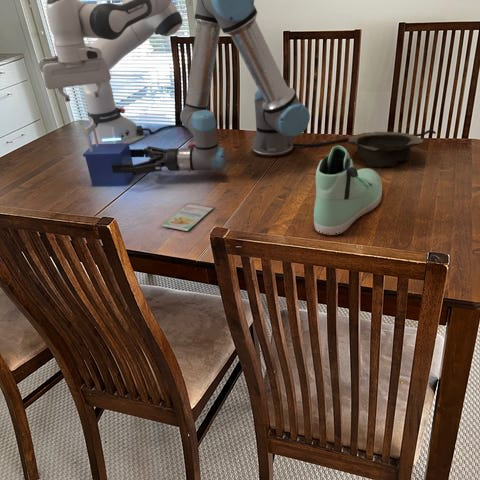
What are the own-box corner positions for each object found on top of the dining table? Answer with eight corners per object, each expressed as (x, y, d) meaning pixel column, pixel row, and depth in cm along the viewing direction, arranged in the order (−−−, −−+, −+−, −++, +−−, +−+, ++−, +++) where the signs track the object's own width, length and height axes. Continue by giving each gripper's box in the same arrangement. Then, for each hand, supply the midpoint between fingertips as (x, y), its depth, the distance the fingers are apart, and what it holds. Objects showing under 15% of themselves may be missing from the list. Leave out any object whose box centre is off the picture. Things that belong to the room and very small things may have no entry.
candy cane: (169, 157, 184) (168, 153, 183) (194, 144, 194) (193, 140, 193) (180, 159, 181) (180, 155, 180) (205, 146, 191) (205, 142, 190)
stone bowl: (380, 178, 154) (381, 150, 149) (333, 160, 174) (332, 135, 170) (437, 159, 162) (439, 132, 158) (385, 144, 183) (386, 120, 178)
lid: (83, 156, 160) (76, 130, 155) (94, 146, 168) (88, 121, 163) (120, 156, 158) (114, 129, 154) (129, 145, 166) (124, 120, 162)
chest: (92, 186, 166) (85, 156, 160) (102, 174, 174) (95, 146, 168) (126, 185, 164) (120, 156, 158) (135, 174, 172) (129, 145, 166)
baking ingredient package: (160, 225, 137) (188, 203, 148) (161, 226, 137) (188, 204, 148) (187, 230, 133) (213, 207, 145) (187, 231, 133) (213, 208, 145)
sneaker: (389, 187, 148) (396, 123, 138) (356, 242, 123) (361, 168, 112) (346, 181, 154) (350, 119, 144) (306, 232, 129) (307, 161, 118)
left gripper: (36, 60, 143) (48, 106, 150) (105, 51, 147) (115, 97, 154) (37, 56, 148) (50, 101, 155) (104, 48, 152) (113, 92, 159)
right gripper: (172, 185, 153) (109, 186, 156) (188, 156, 174) (132, 157, 177) (169, 163, 149) (104, 164, 152) (186, 136, 170) (128, 137, 173)
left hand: (82, 99), depth 155 cm, fingers open, 8 cm apart
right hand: (119, 160), depth 164 cm, fingers open, 13 cm apart
